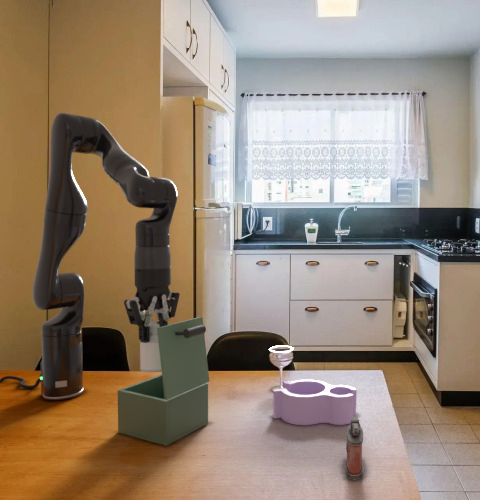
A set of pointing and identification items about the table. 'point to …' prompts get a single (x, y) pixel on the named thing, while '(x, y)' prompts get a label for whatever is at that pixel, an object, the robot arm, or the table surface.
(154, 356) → the eye dropper bottle
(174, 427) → the chest
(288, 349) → the wineglass
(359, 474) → the lighter
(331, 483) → the table surface
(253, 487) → the table surface
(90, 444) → the table surface
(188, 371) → the lid
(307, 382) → the clip
